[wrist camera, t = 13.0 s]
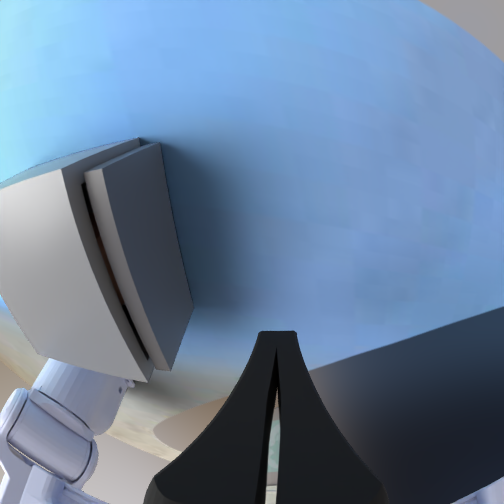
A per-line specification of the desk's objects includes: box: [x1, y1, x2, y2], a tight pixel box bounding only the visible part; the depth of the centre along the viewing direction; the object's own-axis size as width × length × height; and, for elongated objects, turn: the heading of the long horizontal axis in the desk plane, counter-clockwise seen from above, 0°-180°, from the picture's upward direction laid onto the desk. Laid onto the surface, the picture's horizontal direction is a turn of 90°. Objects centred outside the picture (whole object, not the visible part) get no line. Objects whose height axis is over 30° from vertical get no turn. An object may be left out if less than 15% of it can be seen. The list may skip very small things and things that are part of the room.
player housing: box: [0, 137, 154, 383], centre depth 15 cm, size 13×11×7 cm
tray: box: [81, 142, 194, 371], centre depth 15 cm, size 12×11×6 cm
